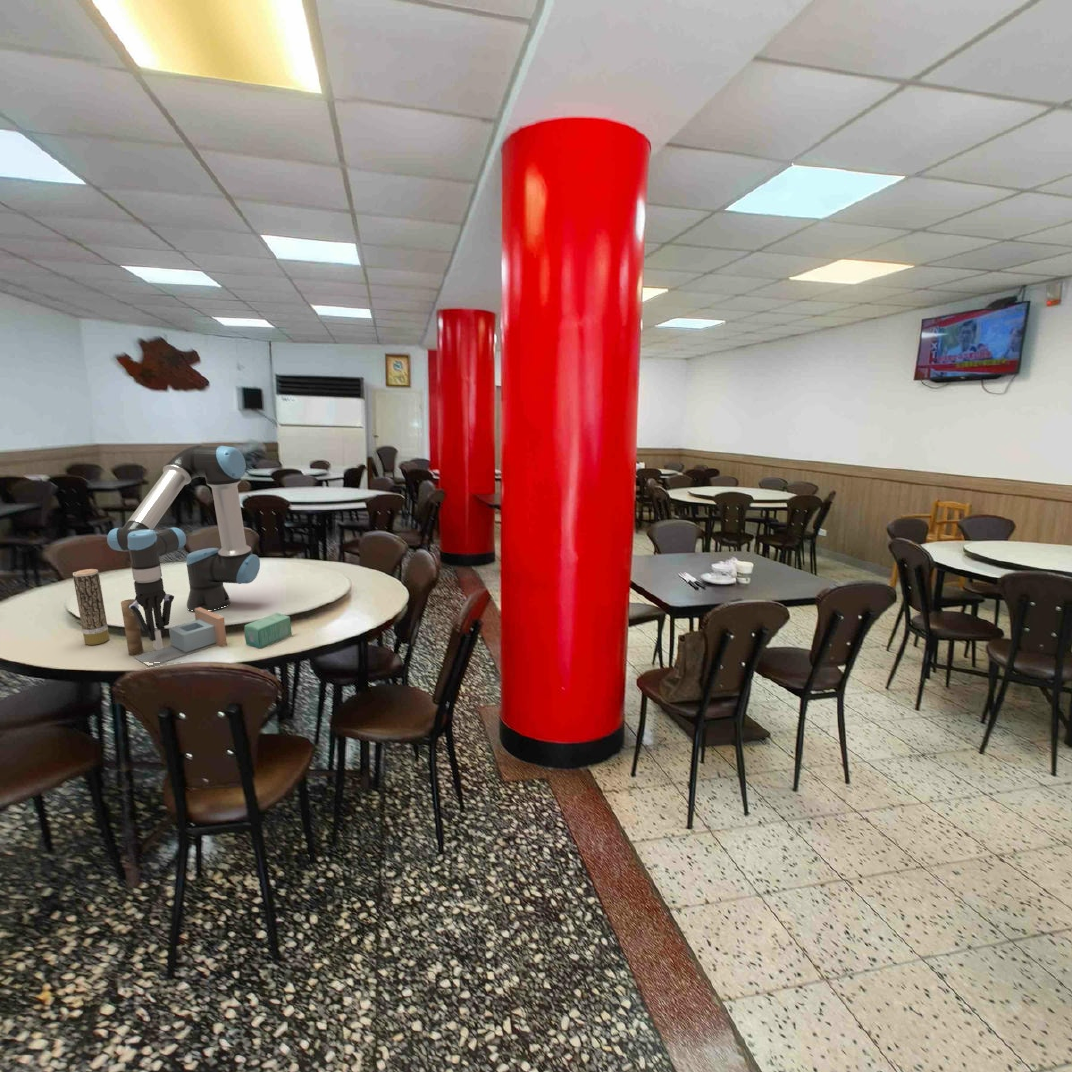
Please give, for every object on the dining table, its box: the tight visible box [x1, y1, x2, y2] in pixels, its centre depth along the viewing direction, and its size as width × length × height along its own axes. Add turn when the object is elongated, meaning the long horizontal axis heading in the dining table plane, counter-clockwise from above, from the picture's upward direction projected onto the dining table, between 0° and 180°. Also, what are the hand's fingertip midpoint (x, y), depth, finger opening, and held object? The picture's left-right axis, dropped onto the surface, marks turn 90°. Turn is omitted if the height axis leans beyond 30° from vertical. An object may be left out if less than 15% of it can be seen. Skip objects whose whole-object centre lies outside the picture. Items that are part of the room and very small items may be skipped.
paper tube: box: [72, 568, 110, 646], centre depth 196 cm, size 7×7×25 cm
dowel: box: [120, 598, 144, 657], centre depth 189 cm, size 4×4×18 cm
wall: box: [194, 607, 228, 648], centre depth 201 cm, size 2×16×10 cm, turn 55°
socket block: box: [168, 619, 216, 652], centre depth 196 cm, size 10×10×6 cm
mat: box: [133, 643, 218, 668], centre depth 193 cm, size 23×11×1 cm, turn 145°
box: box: [243, 612, 293, 649], centre depth 202 cm, size 7×14×8 cm, turn 154°
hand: (158, 648), depth 188 cm, fingers closed
